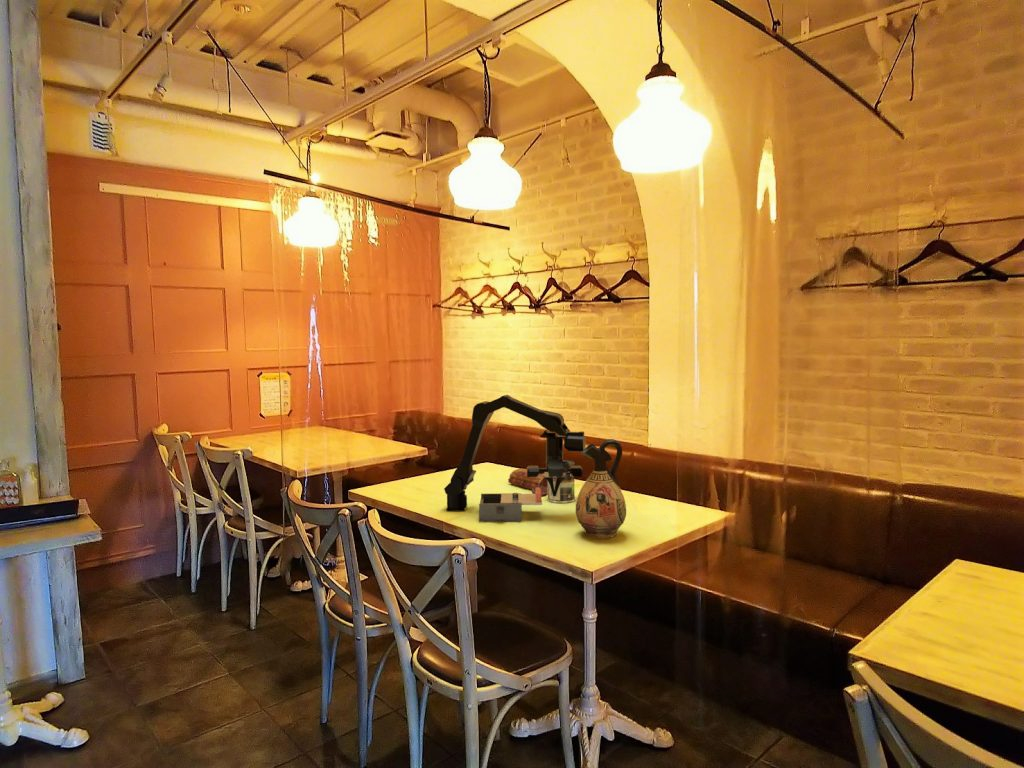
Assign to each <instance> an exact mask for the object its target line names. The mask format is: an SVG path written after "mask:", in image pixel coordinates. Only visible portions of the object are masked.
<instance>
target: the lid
mask: <svg viewBox="0 0 1024 768" xmlns="http://www.w3.org/2000/svg"><path fill="white" fill-rule="evenodd" d="M512 493H513V494H501V493H500V494H501V503H522V506H543V498H542V496H541V489H540V487H536V494H533V493H521V494H518V492H512Z"/></svg>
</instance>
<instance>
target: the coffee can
mask: <svg viewBox="0 0 1024 768" xmlns="http://www.w3.org/2000/svg"><path fill="white" fill-rule="evenodd" d="M563 462H569V468H570V466H576V463H575V462H574V461H573V460H568V459H567V460H564V459H563ZM565 477H566V479H563V480H562V481H561V483H560V485H559V488H558V491H557V494H556V496H553V493H552V490H551V487H550V484H549V482H548V494H547V501H548V502H550V503H554V504H567V503H568V504H569V503H572V502H575V477H573V476H572V475H571V474H566V475H565ZM555 480H556V477H553V484H554V490H555Z"/></svg>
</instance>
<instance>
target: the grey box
mask: <svg viewBox="0 0 1024 768" xmlns="http://www.w3.org/2000/svg"><path fill="white" fill-rule="evenodd" d="M513 493H514V492H512V493H503V492H502V493H481V494H480V502H479V503H478V519H479V520H478V522H479V523H521V522H523V520H522V518H523V517H522V516H523V515H522V513H523V512H522V506H523V505H522V503H501V494H513ZM517 493H518V492H517ZM518 494H522V493H518Z"/></svg>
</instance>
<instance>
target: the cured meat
mask: <svg viewBox="0 0 1024 768" xmlns="http://www.w3.org/2000/svg"><path fill="white" fill-rule="evenodd" d="M543 475H544V474H539V475H538V476H537V477H527V468H517V469H515V470H513V471H512V472H511V473H510V474H509V477H508V481H507V482H508V483H509V484H511V485H515V486H518V487H521V488H524V489H526V490H527V489H529V490H531V494H536V487H540V489H541V497H542V496H546V495H548V480H547V479H544V476H543Z"/></svg>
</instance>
